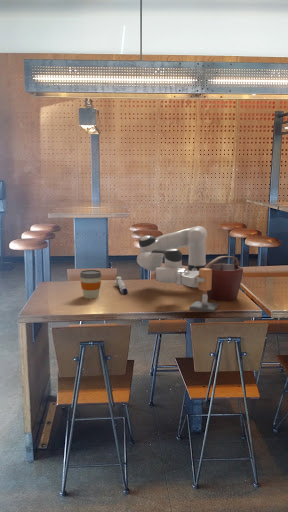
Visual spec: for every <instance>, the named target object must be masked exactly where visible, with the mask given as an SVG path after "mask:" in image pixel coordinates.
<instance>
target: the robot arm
mask: <svg viewBox="0 0 288 512" xmlns="http://www.w3.org/2000/svg"><path fill="white" fill-rule="evenodd" d="M207 238H208V231H207V229H206V228H205V227H203V226H200V225H196V226H193V227H189V228H184V229H182V230H178V231H174V232H170V233H165V234H163V235H162V234H161V235H159V236H157V237H155V236H153V235H148V234H147V235H144V236H141V237H140V238H139V240H138V245H139V246H138V247H139V248H140V252H139V253H138V255H137V257H136V262H137V264H138V265H139V266H140V267H141V268H143V269H145V270H146V271H149V272H154V279H155V281H156V282H159V283H165V284H171V283H173V284H176V285H177V286H182V285H184V286H186V287H189V288H198V285H199V282H204V281H205V278H199V269H201V268H204V267H205V266H206V265H207V263H206V261H207V260H206V255H207V252H206V239H207ZM185 247H187V248H188V264H187V268H182V266H183V265H182V264H183V262H182V259H183V253H182V252H181V250H180V249H182V248H185ZM163 258H164V259H163ZM163 260H164V266H162V264H163Z"/></svg>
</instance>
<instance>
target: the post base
mask: <svg viewBox="0 0 288 512" xmlns="http://www.w3.org/2000/svg"><path fill="white" fill-rule="evenodd" d="M219 305H220V303H217V302H208V295H207V293H202V296H201V301H200V300H199V301H197V300H195V302H194V303H192V304H191V305H190V306H189V310H190V311H198V312H199V311H200V312H207V313H214V312H215V311H216V310H217V309H218V308H219ZM217 307H218V308H217ZM216 308H217V309H216Z"/></svg>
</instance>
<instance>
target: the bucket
mask: <svg viewBox="0 0 288 512" xmlns="http://www.w3.org/2000/svg"><path fill="white" fill-rule="evenodd" d="M225 258H232V264H230V263H216V262H218V261H220V260H222V259H225ZM204 268H209V269H211V270H212V284H211V290H208V291H206V294H207V296H208V297H207V299H210V300H213V301H216V302H231V301H235V300H237V299H238V296H239V291H240V287H241V284H242V279H243V276H244V268H243V267H241V266H240V262H239V261H238V257H236V256H230V255H220V256H217V257H216V258H214V259H212V260H211V261H209V262H208V263H207V264H206V266H205V267H204Z"/></svg>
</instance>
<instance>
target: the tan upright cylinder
mask: <svg viewBox="0 0 288 512" xmlns="http://www.w3.org/2000/svg"><path fill="white" fill-rule="evenodd" d="M199 278H205V281H204V282H199V285H198V290H199V291H204V292H207V291H208V290H211V284H212V270H211V269H209V268H201V269H199Z"/></svg>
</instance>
